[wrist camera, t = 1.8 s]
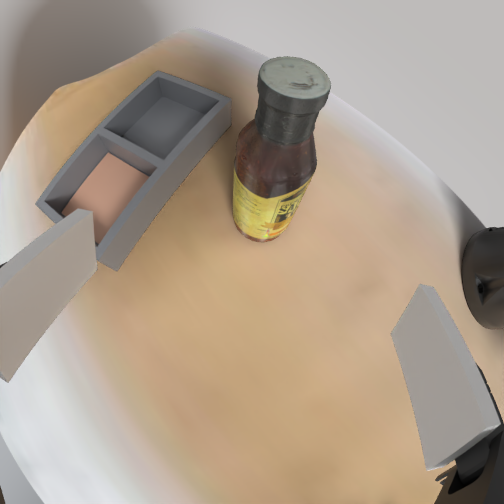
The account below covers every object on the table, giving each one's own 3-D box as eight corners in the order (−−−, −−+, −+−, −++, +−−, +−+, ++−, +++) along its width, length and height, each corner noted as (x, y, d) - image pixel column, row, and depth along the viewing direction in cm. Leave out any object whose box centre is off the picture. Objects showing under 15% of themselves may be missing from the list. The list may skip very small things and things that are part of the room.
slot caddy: (231, 124, 36) (231, 99, 31) (117, 271, 30) (98, 261, 25) (163, 94, 37) (157, 70, 32) (55, 219, 31) (35, 204, 26)
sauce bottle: (276, 253, 31) (335, 143, 12) (222, 230, 32) (211, 97, 13) (297, 203, 33) (360, 71, 14) (247, 182, 33) (263, 37, 14)
